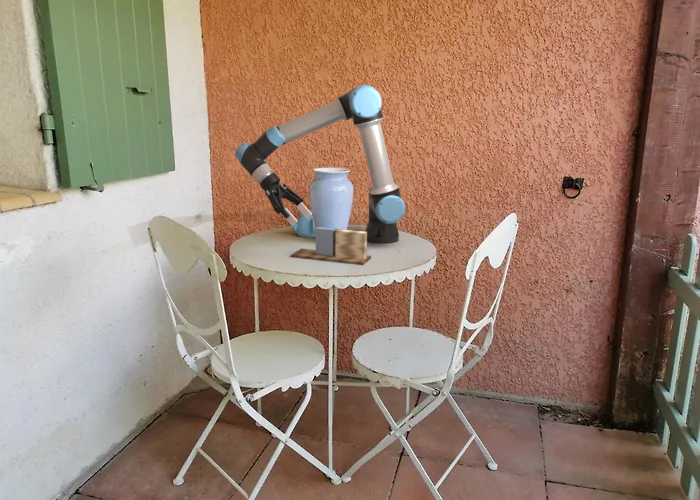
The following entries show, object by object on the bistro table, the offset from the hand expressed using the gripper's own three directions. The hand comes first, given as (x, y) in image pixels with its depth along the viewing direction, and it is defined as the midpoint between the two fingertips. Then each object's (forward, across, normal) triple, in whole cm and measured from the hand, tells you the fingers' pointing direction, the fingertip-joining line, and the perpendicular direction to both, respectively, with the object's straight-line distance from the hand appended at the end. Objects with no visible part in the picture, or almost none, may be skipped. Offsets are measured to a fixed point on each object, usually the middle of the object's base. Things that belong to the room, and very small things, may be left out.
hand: (302, 220), depth 207 cm
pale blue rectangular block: (+15, 0, -2) cm, 16 cm away
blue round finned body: (+2, -33, -18) cm, 37 cm away
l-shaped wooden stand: (+18, 0, -1) cm, 18 cm away
